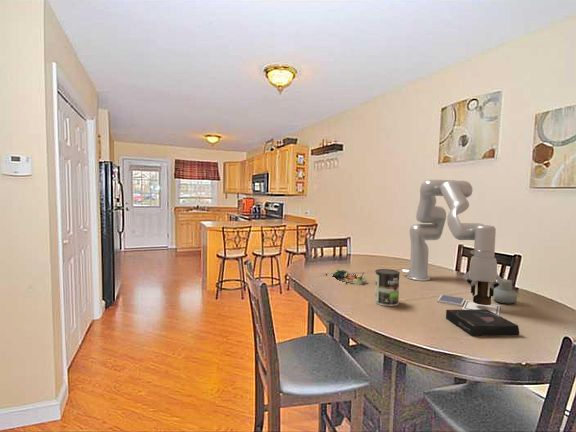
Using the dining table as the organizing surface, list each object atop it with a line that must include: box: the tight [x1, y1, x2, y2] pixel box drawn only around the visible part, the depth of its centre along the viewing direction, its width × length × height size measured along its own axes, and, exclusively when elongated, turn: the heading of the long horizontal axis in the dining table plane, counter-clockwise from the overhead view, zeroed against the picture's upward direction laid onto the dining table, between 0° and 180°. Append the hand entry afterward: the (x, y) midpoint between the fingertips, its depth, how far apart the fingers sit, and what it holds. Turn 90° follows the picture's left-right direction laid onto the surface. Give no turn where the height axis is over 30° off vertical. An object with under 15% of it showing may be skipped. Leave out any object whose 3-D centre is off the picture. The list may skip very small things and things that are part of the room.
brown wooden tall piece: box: [472, 281, 492, 305], centre depth 144 cm, size 7×6×18 cm
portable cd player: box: [445, 309, 520, 337], centre depth 124 cm, size 16×17×4 cm
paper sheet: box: [461, 299, 501, 316], centre depth 144 cm, size 13×15×1 cm
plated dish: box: [332, 268, 369, 286], centre depth 190 cm, size 35×28×7 cm
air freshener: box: [491, 278, 518, 305], centre depth 153 cm, size 11×8×10 cm
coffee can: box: [374, 268, 401, 307], centre depth 150 cm, size 10×10×14 cm
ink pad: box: [436, 294, 466, 308], centre depth 153 cm, size 10×10×1 cm
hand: (481, 295), depth 144 cm, fingers closed on brown wooden tall piece, 5 cm apart
